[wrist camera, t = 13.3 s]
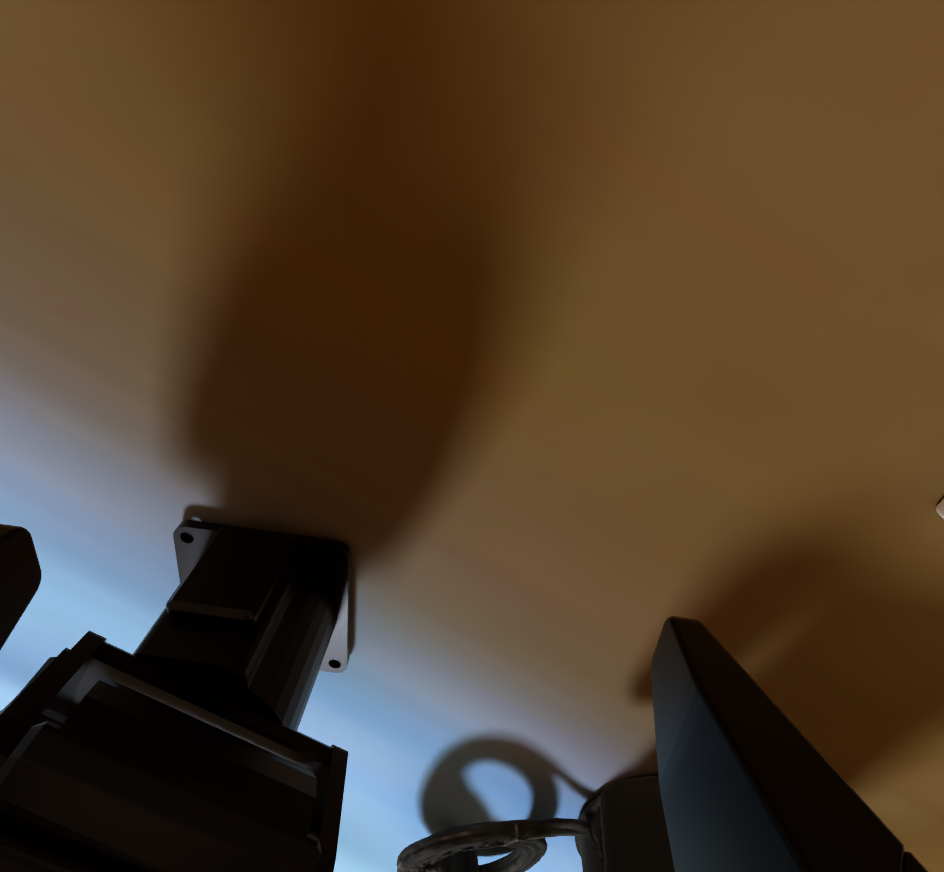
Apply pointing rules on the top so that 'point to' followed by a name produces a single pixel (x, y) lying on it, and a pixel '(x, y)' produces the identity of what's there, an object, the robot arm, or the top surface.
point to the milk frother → (596, 835)
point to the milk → (940, 508)
